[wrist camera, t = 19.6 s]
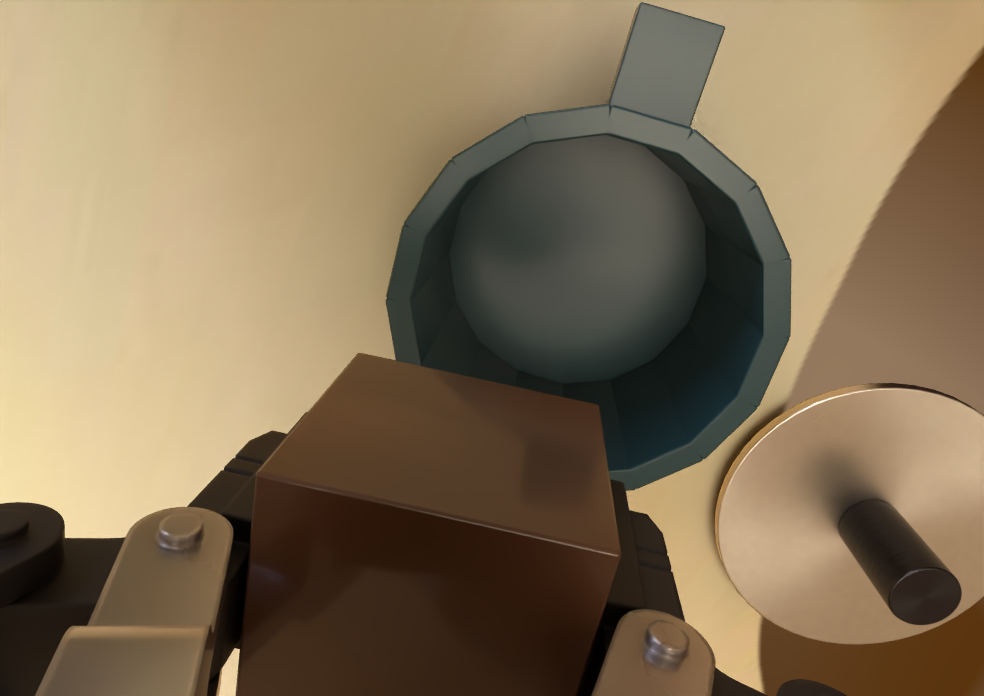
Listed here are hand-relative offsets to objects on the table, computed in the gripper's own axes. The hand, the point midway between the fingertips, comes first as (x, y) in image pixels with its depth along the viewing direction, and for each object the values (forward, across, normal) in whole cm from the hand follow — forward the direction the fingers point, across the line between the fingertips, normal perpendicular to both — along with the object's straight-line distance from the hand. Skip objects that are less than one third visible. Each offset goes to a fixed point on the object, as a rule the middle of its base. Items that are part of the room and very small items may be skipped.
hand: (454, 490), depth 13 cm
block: (0, 0, 0) cm, 0 cm away
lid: (+17, -18, +7) cm, 25 cm away
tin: (+17, -2, -1) cm, 18 cm away
